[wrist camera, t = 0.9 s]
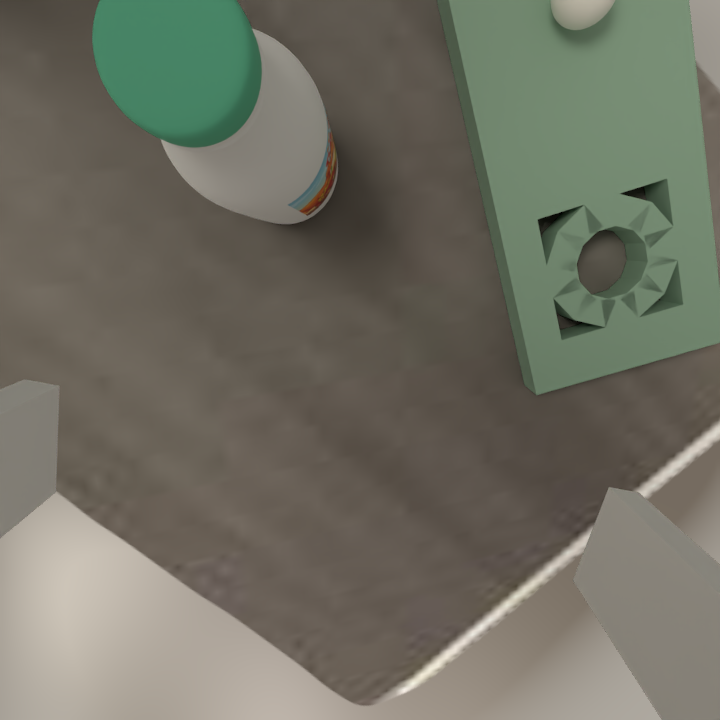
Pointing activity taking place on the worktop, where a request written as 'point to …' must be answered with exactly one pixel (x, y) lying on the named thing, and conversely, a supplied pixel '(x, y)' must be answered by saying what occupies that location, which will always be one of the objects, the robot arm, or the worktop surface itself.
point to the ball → (579, 12)
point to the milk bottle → (220, 103)
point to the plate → (590, 178)
